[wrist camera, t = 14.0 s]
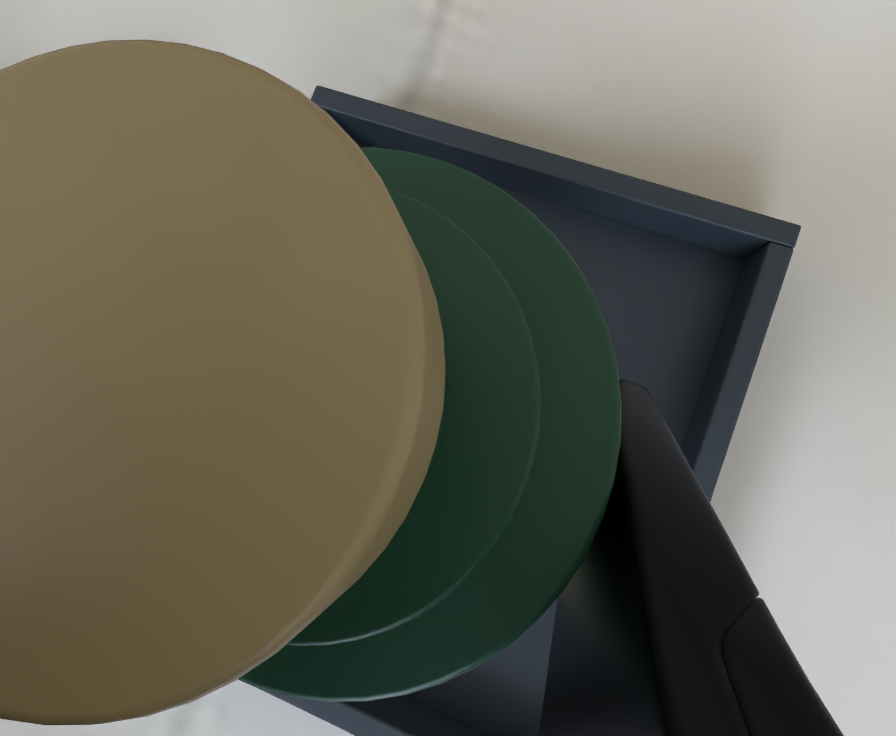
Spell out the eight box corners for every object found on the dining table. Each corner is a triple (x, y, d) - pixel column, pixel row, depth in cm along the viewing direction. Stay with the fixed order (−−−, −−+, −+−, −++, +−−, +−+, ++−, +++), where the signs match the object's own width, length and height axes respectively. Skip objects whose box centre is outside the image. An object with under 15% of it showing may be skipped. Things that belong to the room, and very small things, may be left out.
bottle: (350, 551, 15) (-595, 1199, 2) (329, 338, 16) (-433, -94, 3) (571, 526, 14) (1043, 1201, 2) (536, 306, 15) (663, -387, 2)
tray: (582, 793, 14) (594, 853, 12) (150, 589, 16) (97, 611, 14) (763, 253, 15) (802, 225, 13) (339, 126, 17) (316, 83, 15)
